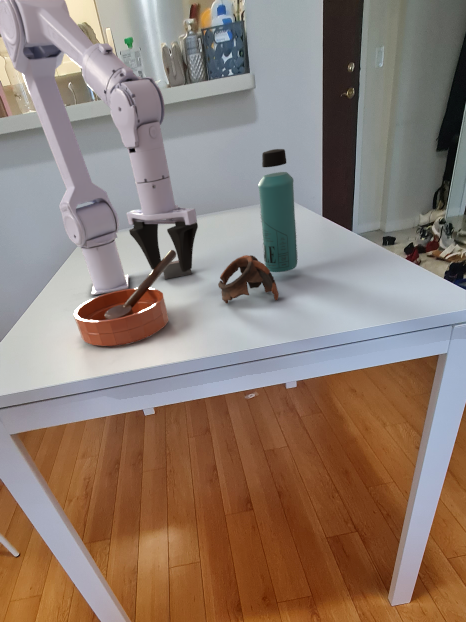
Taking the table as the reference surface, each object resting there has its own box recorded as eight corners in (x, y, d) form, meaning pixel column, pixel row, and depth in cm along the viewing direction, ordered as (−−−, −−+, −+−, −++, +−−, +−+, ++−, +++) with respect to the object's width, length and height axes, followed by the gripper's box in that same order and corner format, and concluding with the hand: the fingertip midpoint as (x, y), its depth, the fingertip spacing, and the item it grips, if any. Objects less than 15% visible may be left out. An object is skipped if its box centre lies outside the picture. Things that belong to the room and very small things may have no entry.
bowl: (87, 323, 85) (78, 298, 82) (167, 307, 85) (161, 282, 82) (79, 356, 73) (68, 328, 70) (171, 337, 74) (164, 309, 71)
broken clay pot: (283, 308, 78) (256, 270, 72) (238, 334, 83) (210, 300, 77) (282, 268, 84) (257, 230, 79) (240, 295, 89) (214, 261, 84)
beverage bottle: (304, 270, 90) (300, 144, 77) (288, 281, 86) (281, 151, 73) (275, 269, 93) (266, 147, 80) (259, 280, 90) (247, 154, 76)
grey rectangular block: (164, 277, 100) (161, 263, 99) (191, 271, 101) (188, 258, 99) (164, 279, 99) (161, 265, 97) (191, 274, 99) (189, 260, 97)
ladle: (123, 334, 76) (109, 300, 72) (104, 330, 79) (90, 297, 74) (192, 282, 85) (183, 249, 81) (173, 280, 88) (164, 247, 83)
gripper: (201, 171, 73) (215, 263, 82) (138, 176, 80) (157, 260, 89) (172, 181, 69) (190, 276, 78) (109, 185, 76) (132, 272, 85)
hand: (171, 268), depth 83 cm, fingers open, 7 cm apart
